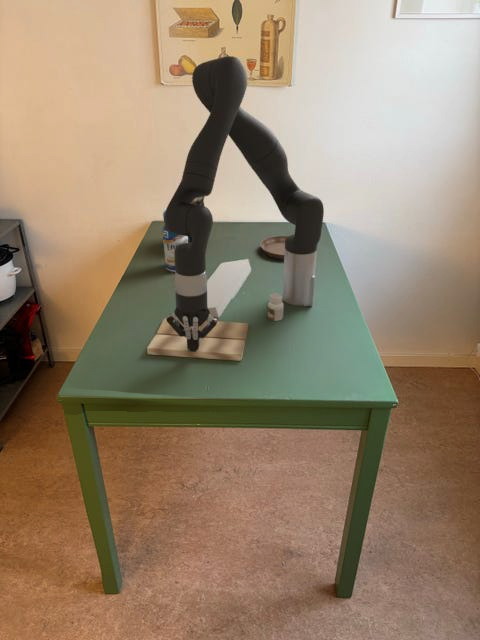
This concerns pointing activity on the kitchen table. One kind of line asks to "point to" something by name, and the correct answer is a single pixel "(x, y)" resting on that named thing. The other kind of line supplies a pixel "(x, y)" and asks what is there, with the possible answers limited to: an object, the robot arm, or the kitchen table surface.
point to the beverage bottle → (171, 246)
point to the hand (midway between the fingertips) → (193, 350)
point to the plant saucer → (274, 246)
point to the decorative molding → (225, 284)
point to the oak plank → (207, 348)
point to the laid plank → (213, 330)
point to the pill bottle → (275, 307)
